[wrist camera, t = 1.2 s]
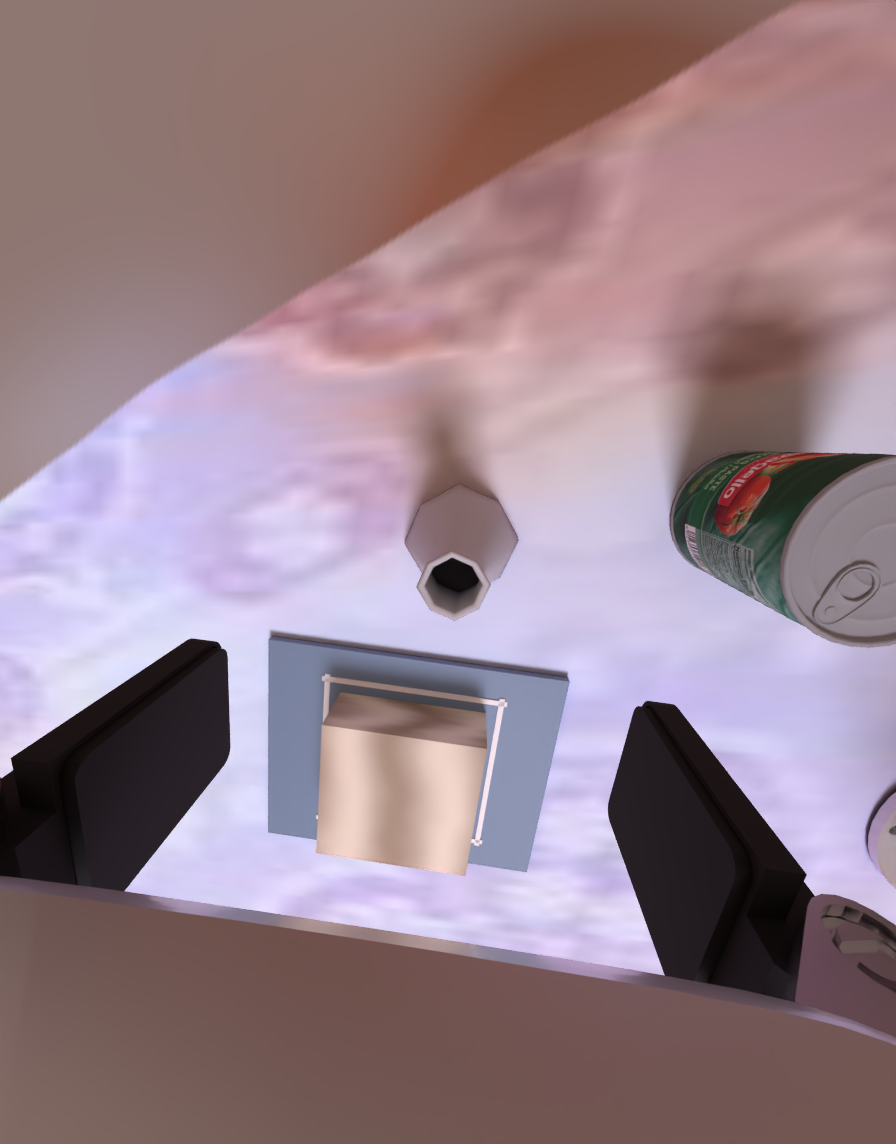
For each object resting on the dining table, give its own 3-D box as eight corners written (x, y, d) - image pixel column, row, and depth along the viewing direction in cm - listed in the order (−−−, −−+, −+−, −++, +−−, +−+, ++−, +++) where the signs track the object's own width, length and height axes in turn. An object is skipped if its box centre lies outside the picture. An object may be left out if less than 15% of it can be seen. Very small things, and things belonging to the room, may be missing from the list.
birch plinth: (486, 713, 32) (487, 749, 28) (466, 829, 35) (465, 876, 31) (340, 691, 32) (321, 724, 28) (333, 809, 35) (316, 852, 32)
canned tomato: (730, 424, 26) (901, 408, 16) (827, 497, 27) (1053, 529, 16) (642, 531, 28) (741, 582, 18) (735, 596, 29) (882, 681, 18)
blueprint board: (567, 677, 31) (569, 682, 31) (525, 865, 36) (526, 873, 36) (272, 636, 32) (268, 640, 31) (271, 826, 37) (267, 833, 36)
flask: (458, 463, 28) (448, 471, 18) (537, 538, 29) (567, 583, 19) (386, 543, 30) (343, 589, 20) (464, 611, 31) (457, 686, 21)
